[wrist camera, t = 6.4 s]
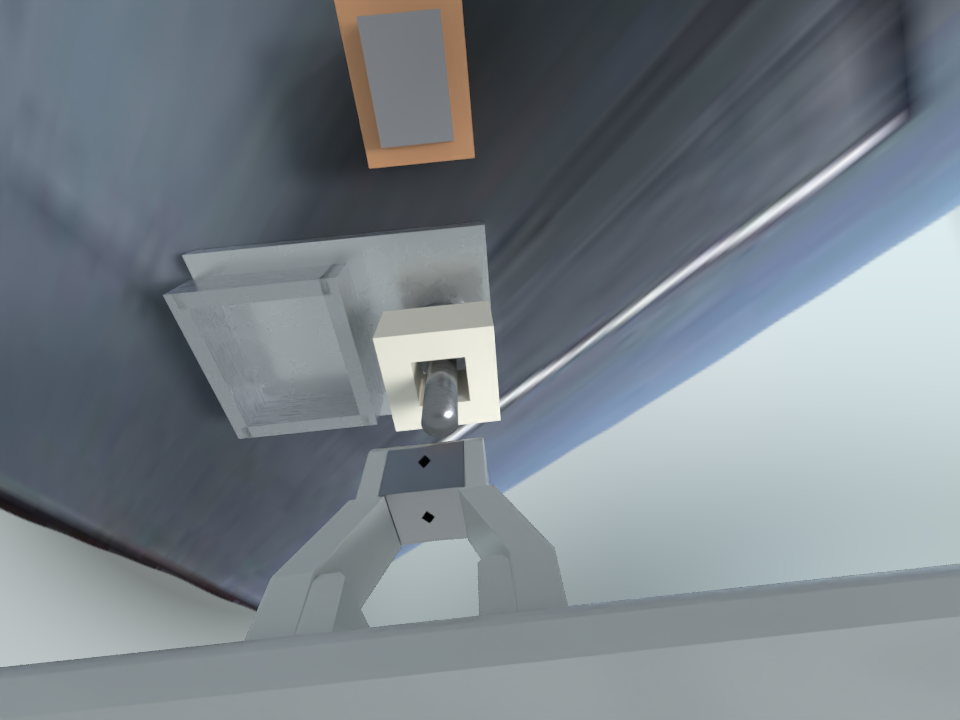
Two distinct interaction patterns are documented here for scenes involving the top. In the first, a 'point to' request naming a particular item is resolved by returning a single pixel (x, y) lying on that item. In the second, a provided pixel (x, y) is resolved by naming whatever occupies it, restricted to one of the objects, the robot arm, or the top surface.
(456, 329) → the square housing
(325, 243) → the chassis
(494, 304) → the top surface
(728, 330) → the top surface
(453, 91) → the block
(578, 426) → the top surface
